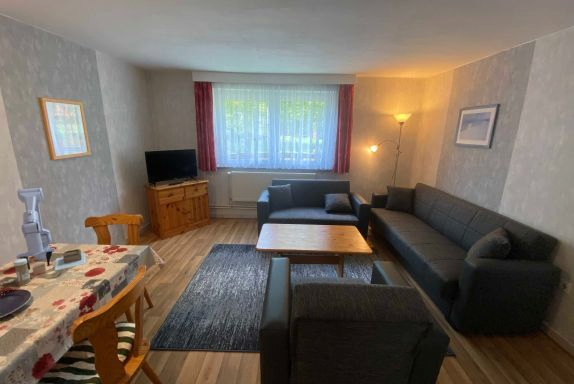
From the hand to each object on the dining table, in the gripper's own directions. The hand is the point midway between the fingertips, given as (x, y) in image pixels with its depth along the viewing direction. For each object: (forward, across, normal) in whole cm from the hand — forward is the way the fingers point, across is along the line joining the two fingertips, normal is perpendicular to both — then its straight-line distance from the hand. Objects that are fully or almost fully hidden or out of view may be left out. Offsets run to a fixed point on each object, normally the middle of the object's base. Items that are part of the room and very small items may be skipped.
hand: (39, 267), depth 138 cm
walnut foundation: (+3, +14, +8) cm, 16 cm away
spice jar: (+4, -5, -9) cm, 11 cm away
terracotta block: (+4, 0, 0) cm, 4 cm away
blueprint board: (+4, +13, +6) cm, 15 cm away
